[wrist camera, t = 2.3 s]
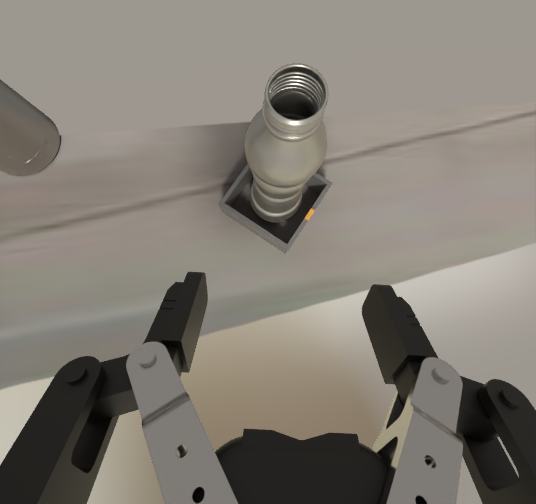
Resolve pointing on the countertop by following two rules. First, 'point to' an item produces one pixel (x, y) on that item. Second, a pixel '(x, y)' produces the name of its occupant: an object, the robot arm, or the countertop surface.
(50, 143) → the robot arm
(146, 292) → the countertop surface
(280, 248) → the socket collar
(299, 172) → the silver metal bottle
